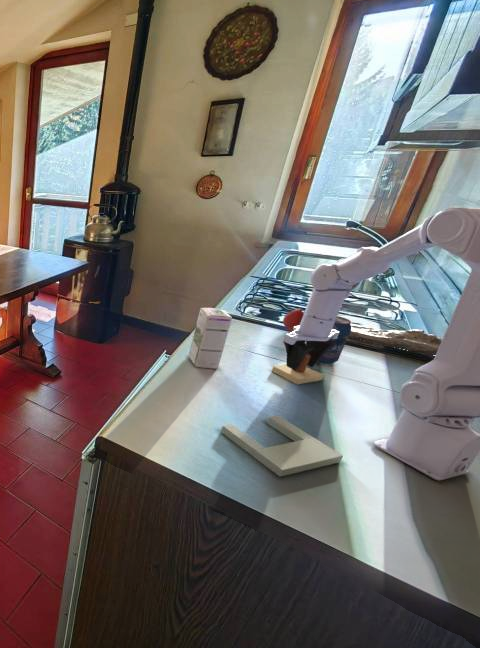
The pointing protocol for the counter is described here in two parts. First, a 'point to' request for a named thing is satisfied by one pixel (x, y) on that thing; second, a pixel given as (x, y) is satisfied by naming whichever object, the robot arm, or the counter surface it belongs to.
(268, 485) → the counter surface
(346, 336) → the soda can
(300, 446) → the notched mat
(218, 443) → the counter surface
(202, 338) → the syrup box
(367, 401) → the counter surface
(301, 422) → the counter surface
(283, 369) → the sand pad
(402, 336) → the driftwood log
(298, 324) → the red round piece
